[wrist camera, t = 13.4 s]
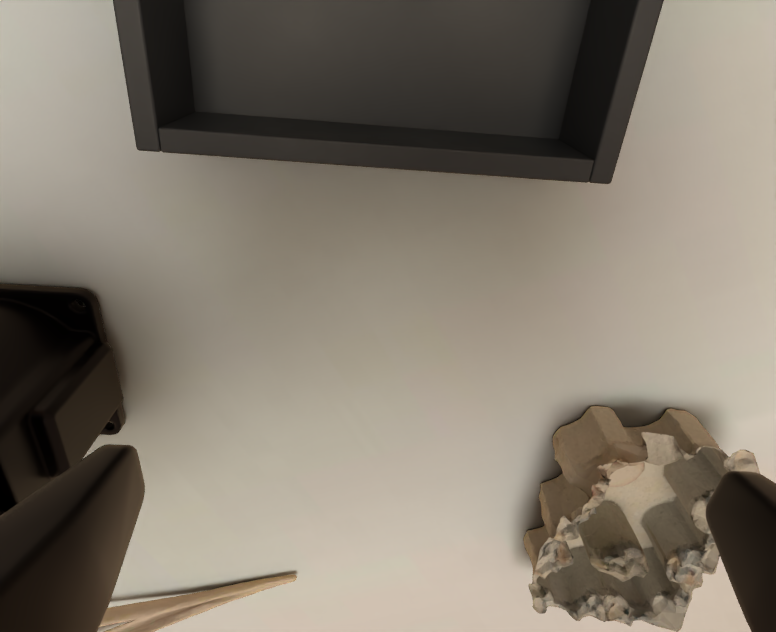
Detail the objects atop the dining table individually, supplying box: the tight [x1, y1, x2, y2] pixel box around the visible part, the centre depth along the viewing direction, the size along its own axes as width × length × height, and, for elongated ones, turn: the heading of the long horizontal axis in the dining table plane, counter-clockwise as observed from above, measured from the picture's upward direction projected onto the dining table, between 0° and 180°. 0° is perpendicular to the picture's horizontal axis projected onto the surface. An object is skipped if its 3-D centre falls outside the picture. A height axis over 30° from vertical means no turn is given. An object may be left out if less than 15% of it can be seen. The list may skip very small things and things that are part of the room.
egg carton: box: [523, 406, 760, 632], centre depth 22 cm, size 11×8×4 cm
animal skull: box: [99, 575, 297, 632], centre depth 27 cm, size 17×5×2 cm, turn 106°
